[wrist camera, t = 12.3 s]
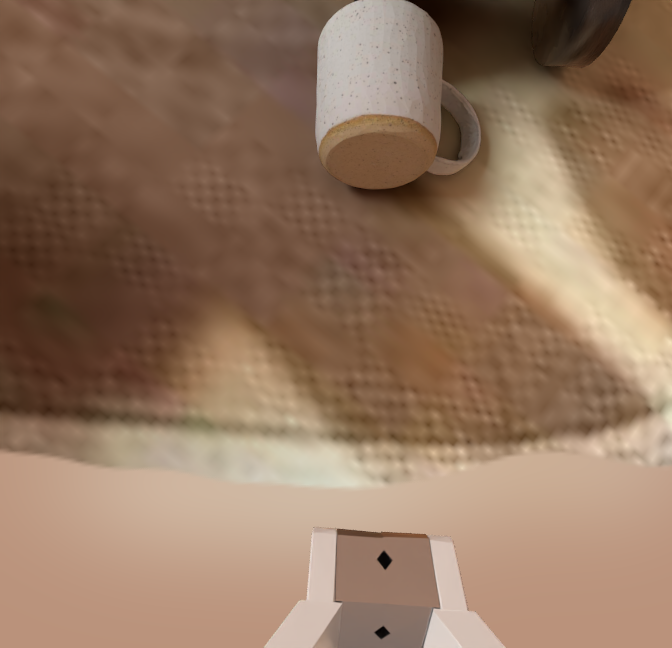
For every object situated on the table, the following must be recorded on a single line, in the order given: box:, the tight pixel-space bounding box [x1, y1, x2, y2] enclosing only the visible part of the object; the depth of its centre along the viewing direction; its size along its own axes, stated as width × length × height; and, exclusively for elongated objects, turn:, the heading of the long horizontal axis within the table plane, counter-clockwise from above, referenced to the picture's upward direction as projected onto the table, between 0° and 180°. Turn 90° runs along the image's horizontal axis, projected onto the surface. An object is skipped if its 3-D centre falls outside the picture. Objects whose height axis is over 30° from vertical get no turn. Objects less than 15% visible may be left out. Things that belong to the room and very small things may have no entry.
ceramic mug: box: [315, 0, 481, 189], centre depth 29 cm, size 11×8×8 cm
